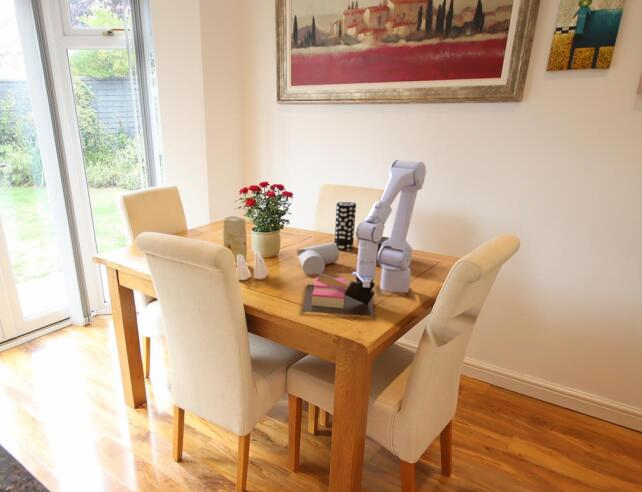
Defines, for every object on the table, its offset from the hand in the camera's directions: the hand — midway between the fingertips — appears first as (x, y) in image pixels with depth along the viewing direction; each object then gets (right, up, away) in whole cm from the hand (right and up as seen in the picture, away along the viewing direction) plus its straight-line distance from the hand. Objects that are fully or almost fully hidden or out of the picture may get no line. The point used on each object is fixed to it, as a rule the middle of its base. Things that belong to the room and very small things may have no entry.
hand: (363, 299), depth 149 cm
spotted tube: (+7, +23, +59) cm, 64 cm away
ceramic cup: (+16, +15, +41) cm, 46 cm away
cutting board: (-7, -1, +5) cm, 9 cm away
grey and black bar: (-7, +2, 0) cm, 7 cm away
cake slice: (-11, -1, +1) cm, 11 cm away
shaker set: (-35, +7, +26) cm, 45 cm away
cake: (-9, +2, +9) cm, 13 cm away
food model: (-42, +14, +42) cm, 61 cm away
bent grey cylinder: (-8, +12, +36) cm, 39 cm away
